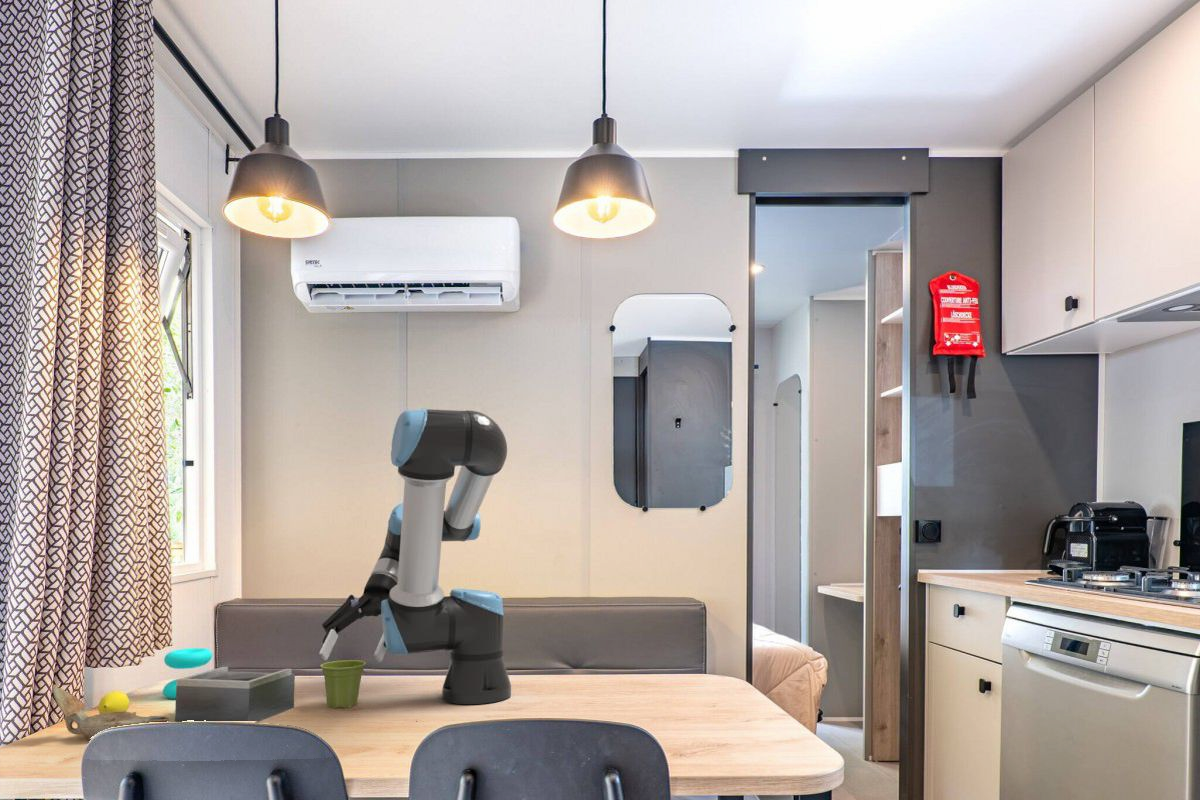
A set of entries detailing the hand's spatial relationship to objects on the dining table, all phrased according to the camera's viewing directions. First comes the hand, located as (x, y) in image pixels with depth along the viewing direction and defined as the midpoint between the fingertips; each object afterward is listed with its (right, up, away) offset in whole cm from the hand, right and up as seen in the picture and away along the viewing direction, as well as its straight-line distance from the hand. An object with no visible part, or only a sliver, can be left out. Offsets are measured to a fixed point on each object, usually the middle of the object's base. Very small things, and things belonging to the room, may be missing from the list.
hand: (349, 658), depth 184 cm
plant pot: (0, -9, -6) cm, 10 cm away
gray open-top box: (-21, -8, -12) cm, 26 cm away
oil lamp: (-37, -7, -27) cm, 47 cm away
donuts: (-40, -11, +7) cm, 42 cm away
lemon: (-45, -9, -13) cm, 48 cm away
